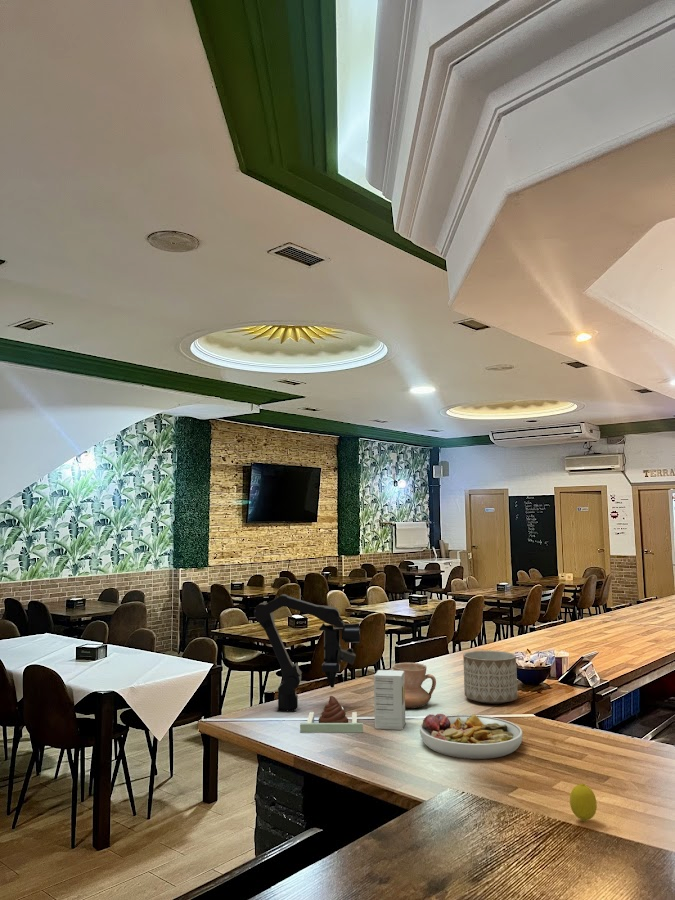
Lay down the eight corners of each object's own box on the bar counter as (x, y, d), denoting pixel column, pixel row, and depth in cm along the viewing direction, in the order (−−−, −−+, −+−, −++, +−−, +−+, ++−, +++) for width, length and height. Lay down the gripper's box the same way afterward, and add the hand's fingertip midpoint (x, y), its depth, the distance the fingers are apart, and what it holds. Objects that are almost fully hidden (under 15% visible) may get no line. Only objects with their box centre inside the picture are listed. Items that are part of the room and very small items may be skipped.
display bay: (300, 732, 216) (300, 724, 216) (303, 719, 230) (303, 712, 230) (363, 732, 215) (362, 724, 215) (362, 719, 229) (362, 711, 230)
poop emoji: (315, 727, 221) (314, 698, 222) (323, 720, 229) (322, 692, 230) (344, 730, 218) (344, 699, 219) (351, 722, 226) (351, 693, 227)
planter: (499, 692, 265) (498, 649, 267) (528, 704, 247) (526, 657, 249) (455, 696, 259) (454, 652, 261) (481, 709, 241) (479, 661, 243)
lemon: (566, 817, 151) (564, 779, 152) (590, 815, 151) (588, 778, 152) (577, 827, 146) (575, 788, 146) (602, 826, 146) (600, 787, 147)
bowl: (526, 735, 211) (525, 709, 212) (518, 768, 183) (517, 737, 184) (431, 727, 221) (430, 702, 222) (409, 756, 193) (409, 728, 194)
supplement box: (402, 730, 217) (401, 676, 218) (374, 729, 218) (373, 675, 220) (405, 722, 226) (404, 670, 228) (378, 720, 228) (377, 669, 230)
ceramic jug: (386, 710, 240) (386, 669, 242) (386, 699, 255) (386, 661, 256) (437, 712, 239) (437, 670, 240) (434, 701, 253) (434, 662, 255)
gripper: (353, 647, 235) (353, 693, 234) (355, 638, 254) (355, 681, 252) (321, 647, 236) (321, 693, 234) (325, 638, 255) (325, 681, 253)
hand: (332, 687), depth 243 cm, fingers closed
